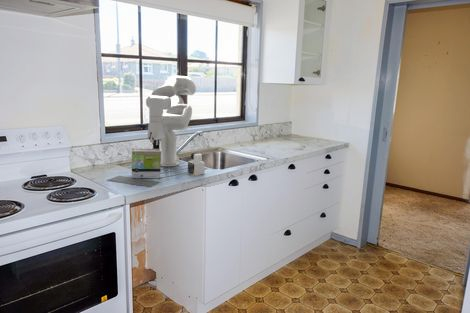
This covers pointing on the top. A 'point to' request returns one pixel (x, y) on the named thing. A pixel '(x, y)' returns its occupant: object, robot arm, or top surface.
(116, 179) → the rubber mat
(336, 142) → the top surface
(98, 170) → the top surface
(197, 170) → the medicine bottle
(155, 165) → the tea box
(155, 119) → the robot arm
